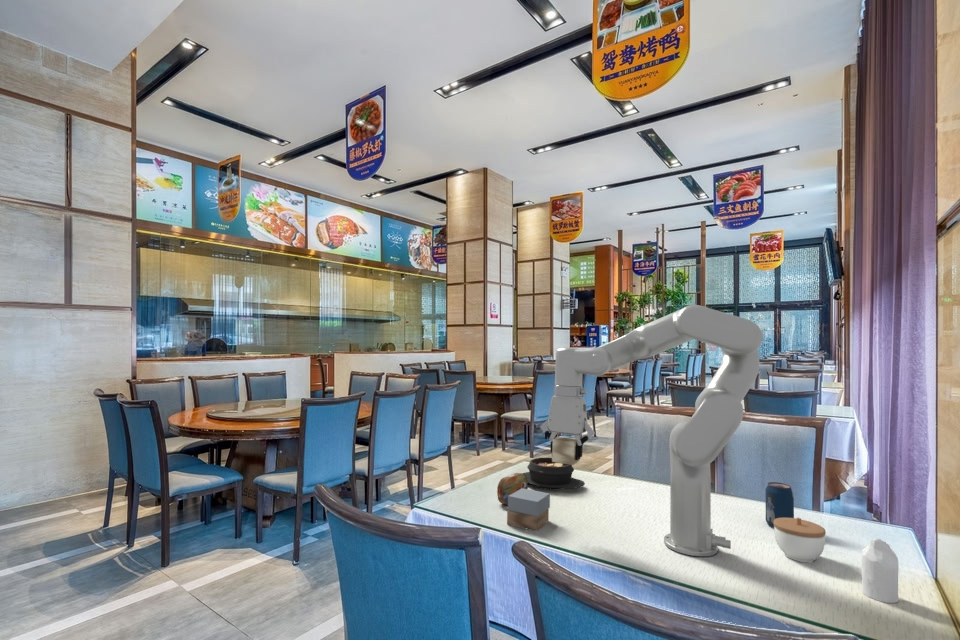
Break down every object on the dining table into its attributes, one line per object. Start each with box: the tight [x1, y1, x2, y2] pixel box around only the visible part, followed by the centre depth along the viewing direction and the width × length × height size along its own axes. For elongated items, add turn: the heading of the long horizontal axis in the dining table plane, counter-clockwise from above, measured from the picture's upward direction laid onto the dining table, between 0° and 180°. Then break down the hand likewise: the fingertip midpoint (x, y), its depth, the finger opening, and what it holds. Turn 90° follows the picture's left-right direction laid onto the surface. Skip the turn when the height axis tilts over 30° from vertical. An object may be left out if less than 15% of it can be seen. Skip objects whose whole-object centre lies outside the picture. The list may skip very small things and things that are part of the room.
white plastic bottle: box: [861, 538, 899, 604], centre depth 100 cm, size 6×12×6 cm
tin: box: [496, 472, 529, 506], centre depth 157 cm, size 15×3×8 cm, turn 143°
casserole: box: [523, 457, 586, 490], centre depth 176 cm, size 25×19×8 cm
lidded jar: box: [773, 517, 826, 563], centre depth 119 cm, size 11×11×9 cm
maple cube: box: [551, 435, 581, 466], centre depth 133 cm, size 6×6×6 cm
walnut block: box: [506, 508, 550, 532], centre depth 138 cm, size 9×9×4 cm
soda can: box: [765, 481, 795, 530], centre depth 139 cm, size 7×7×12 cm
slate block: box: [507, 488, 551, 517], centre depth 138 cm, size 9×9×4 cm
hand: (566, 456), depth 133 cm, fingers closed on maple cube, 6 cm apart
